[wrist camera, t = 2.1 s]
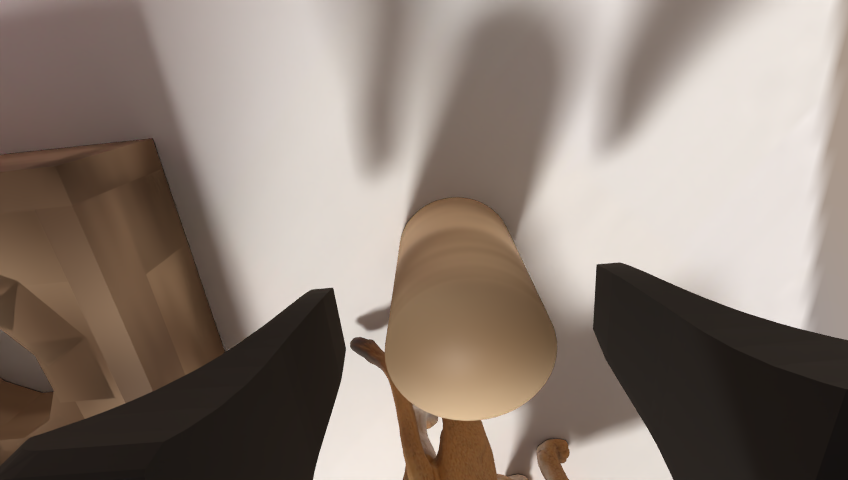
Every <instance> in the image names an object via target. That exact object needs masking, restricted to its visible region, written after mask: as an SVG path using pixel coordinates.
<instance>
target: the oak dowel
mask: <svg viewBox="0 0 848 480" xmlns="http://www.w3.org/2000/svg"><path fill="white" fill-rule="evenodd" d="M556 355H557V339H556V334H555V330H554V327H553V325H552V323H551V320H550V318H549V316H548V314H547V312H546V310H545V308H544V305H543V303H542V301H541V299H540V297H539V295H538V293H537V291H536V289H535V286H534V284H533V282H532V280H531V278H530V276H529V274H528V272H527V270H526V268H525V265H524V263H523V261H522V259H521V257H520V255H519V253H518V251H517V249H516V246H515V244H514V242H513V240H512V238H511V236H510V234H509V232H508V230H507V228H506V226H505V224H504V222H503V220H502V219H501V218H500V217H499V215H498V214H497V213H496V212H495V211H493V210H492V209H491V208H489V207H488V206H487V205H485V204H483V203H481V202H478V201H476V200H473V199H468V198H460V197H453V198H445V199H441V200H437V201H434V202H432V203H430V204H428V205H426V206H425V207H423V208H422V209H420V210H419V211H418V212H416V214H415V215H414V216H413V217H412V218H411V219H410V220H409V222H408V223H407V225H406V227H405V228H404V231H403V233H402V236H401V241H400V246H399V253H398V260H397V267H396V274H395V281H394V288H393V295H392V301H391V308H390V315H389V322H388V329H387V336H386V343H385V362H386V366H387V370H388V373H389V375H390V378H391V380H392V381H393V383H394V385H395V386H396V388H397V389H398V390H399V391H400V393H401V394H402V395H403V396H404V397H405V398H406V399H407V400H408V401H410V402H411V403H412V404H414V405H415V406H417V407H418V408H420V409H422V410H424V411H426V412H428V413H430V414H433V415H435V416H439V417H442V418H447V419H452V420H462V421H475V420H484V419H489V418H493V417H497V416H500V415H503V414H506V413H508V412H510V411H513V410H515V409H517V408H518V407H520V406H522V405H523V404H525V403H526V402H527V401H529V400H530V399H531V398H533V397H534V396H535V395H536V394H537V393H538V392H539V391H540V389H541V388H542V387H543V386H544V384H545V383H546V381H547V380H548V378H549V376H550V375H551V372H552V370H553V367H554V364H555V360H556Z"/></svg>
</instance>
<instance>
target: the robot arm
mask: <svg viewBox="0 0 848 480" xmlns="http://www.w3.org/2000/svg"><path fill="white" fill-rule="evenodd" d="M593 330H594V332H595V335H596V337H597V340H598V342H599V345H600V347H601V349H602V351H603V354H604V356H605V358H606V360H607V362H608V364H609V365H610V367H611V369H612V371H613V372H614V374H615V376H616V377H617V379H618V381H619V382H620V384H621V386H622V387H623V389H624V390H625V392H626V394H627V395H628V397H629V399H630V400H631V402H632V404H633V405H634V407H635V408H636V410H637V412H638V413H639V415H640V417H641V418H642V420H643V422H644V423H645V425H646V426H647V428H648V430H649V432H650V433H651V435H652V437H653V439H654V441H655V442H656V444H657V446H658V448H659V450H660V452H661V454H662V456H663V458H664V461H665V463H666V465H667V467H668V469H669V471H670V473H671V475H672V477H673V480H848V340H844V339H839V338H834V337H830V336H826V335H822V334H818V333H814V332H810V331H806V330H802V329H798V328H794V327H790V326H787V325H783V324H779V323H776V322H773V321H770V320H766V319H763V318H760V317H757V316H753V315H750V314H747V313H744V312H741V311H738V310H735V309H732V308H730V307H727V306H724V305H722V304H719V303H717V302H714V301H711V300H709V299H706V298H704V297H701V296H699V295H696V294H694V293H691V292H689V291H687V290H684V289H682V288H680V287H677V286H675V285H673V284H671V283H668V282H666V281H664V280H662V279H659V278H657V277H655V276H653V275H650V274H648V273H646V272H644V271H641V270H639V269H636V268H634V267H632V266H629V265H626V264H623V263H609V264H598V265H597V268H596V286H595V304H594V323H593ZM345 352H346V347H345V342H344V337H343V333H342V328H341V323H340V318H339V314H338V309H337V304H336V299H335V295H334V290H333V288H325V289H314V290H310V291H309V292H307V293H306V294H304V295H303V296H301V297H300V298H299V299H297V300H296V301H295V302H294V303H292V304H291V305H290V306H288V307H287V308H286V309H285V310H283V311H282V312H281V313H280V314H278V315H277V316H276V317H274V318H273V319H272V320H271V321H269V322H268V323H267V324H265V325H264V326H263V327H261V328H260V329H258V330H257V331H256V332H254V333H253V334H251V335H250V336H249V337H247V338H246V339H244V340H243V341H242V342H240V343H239V344H237V345H236V346H234V347H233V348H231V349H230V350H228V351H227V352H225V353H224V354H222V355H220V356H219V357H217V358H215V359H214V360H212V361H210V362H209V363H207V364H205V365H203V366H202V367H200V368H198V369H196V370H195V371H193V372H191V373H189V374H187V375H185V376H183V377H181V378H179V379H177V380H175V381H173V382H171V383H169V384H167V385H165V386H163V387H161V388H159V389H157V390H155V391H152V392H150V393H148V394H146V395H143V396H141V397H139V398H137V399H134V400H132V401H130V402H127V403H125V404H122V405H120V406H117V407H115V408H112V409H110V410H107V411H105V412H102V413H100V414H97V415H94V416H92V417H89V418H86V419H83V420H80V421H77V422H74V423H71V424H69V425H66V426H63V427H60V428H57V429H54V430H51V431H48V432H45V433H42V434H39V435H36V436H33V437H30V438H29V439H27V440H26V441H25V442H24V443H23V444H22V445H21V446H20V447H19V448H18V449H17V450H16V451H15V452H14V453H13V454H12V455H11V456H10V457H9V458H8V459H7V460H6V461H5V462H4V463H3V464H1V465H0V480H313V477H314V471H315V467H316V463H317V459H318V456H319V452H320V449H321V445H322V442H323V439H324V436H325V432H326V429H327V426H328V422H329V419H330V416H331V413H332V409H333V406H334V403H335V399H336V396H337V393H338V389H339V386H340V382H341V378H342V372H343V366H344V359H345Z"/></svg>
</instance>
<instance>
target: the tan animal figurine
mask: <svg viewBox="0 0 848 480" xmlns="http://www.w3.org/2000/svg"><path fill="white" fill-rule="evenodd" d="M350 347H351V349H352V350H353V351H355V352H356V353H357V354H359V355H361V356H362V357H364V358H365V359H366V360H367V361H368V362H370V363H372V364H374V365H376V366H378V367H379V368H381V369H382V370H383V372H384V373H385V375H386V376H387V378H388V380H389V382H390V385H391V389H392V393H393V397H394V402H395V406H396V411H397V417H398V423H399V428H400V437H401V442H402V448H403V454H404V458H405V462H406V467H405V474H404V477H403V480H528V478H527V477H525V476H524V475H520V474H517V475H511V476H509V477H507V476H504V475H501V474H496V468H495V463H494V458H493V453H492V450H491V447H490V444H489V441H488V439H487V436H486V433H485V430H484V427H483V424H482V422H481V420H475V421H462V420H452V419H447V418H442V420H443V430H442V432H441V436H440V445H439V451H438V454H437V456H436V453H435V451H434V448H433V446H432V444H431V442H430V441H429V438H428V435H427V429H429V428H431V427H432V426H433V425H435V424H436V423H437V421H438V416H435V415H433V414H430V413H428V412H426V411H424V410H422V409H420V408H418V407H417V406H415V405H412V403H411V402H410V401H408V400H407V399H406V398H405V397H404V396H403V395H402V394H401V393H400V391H399V390H398V389H397V388H396V386H395V385H394V383H393V381H392V380H391V378H390V375H389V373H388V370H387V366H386V362H385V353H384V352H383V351H382V350H381V349H380V348H379V346H378V345H377V344H376V343H375V342H374V341H373V340H370V339H369V340H367V339H365V338H362V337H357V338H354V339H353V340H352V341H351V342H350ZM536 454H537V460H538V465H539V467H540V470H541V473H542V475H543V476H544V478H545V479H546V480H569V479H568V478H567V476H566V474H565V472H564V470H563V468H562V466H561V464H560V463H564V462H566V459H567V458H568V456H569V449H568V443H567V442H566V441H565V440H562V439H549V440H546V441H545V442H543V443H542V444H541V445H540V446H538V448H537V452H536Z"/></svg>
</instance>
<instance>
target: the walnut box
mask: <svg viewBox="0 0 848 480" xmlns="http://www.w3.org/2000/svg"><path fill="white" fill-rule="evenodd" d="M0 329H1V330H2V331H4V332H5V333H6V334H7V335H9V336H10V337H11V338H13V339H14V340H15V341H16V342H18V343H19V344H20V345H22V346H23V347H24V348H26V349H27V350H28V351H29V352H31V353H32V354H33V355H35V357H36V359H37V361H38V362H39V364H40V366H41V368H42V370H43V372H44V374H45V375H46V377H47V379H48V381H49V383H50V385H51V386H52V388H53V390H54V392H46V393H41V392H38V391H35V390H31V389H28V388H25V387H22V386H19V385H15V384H12V383H9V382H6V381H4V380H3V379H1V378H0V465H1V464H3V463H4V462H5V461H6V460H7V459H8V458H9V457H10V456H11V455H12V454H13V453H14V452H15V451H16V450H17V449H18V448H19V447H20V446H21V445H22V444H23V443H24V442H25V441H26V440H27V439H29V438H30V437H33V436H36V435H39V434H42V433H45V432H48V431H51V430H54V429H57V428H60V427H63V426H66V425H69V424H71V423H74V422H77V421H80V420H83V419H86V418H89V417H92V416H94V415H97V414H100V413H102V412H105V411H107V410H110V409H112V408H115V407H117V406H120V405H122V404H125V403H127V402H130V401H132V400H134V399H137V398H139V397H141V396H143V395H146V394H148V393H150V392H152V391H155V390H157V389H159V388H161V387H163V386H165V385H167V384H169V383H171V382H173V381H175V380H177V379H179V378H181V377H183V376H185V375H187V374H189V373H191V372H193V371H195V370H196V369H198V368H200V367H202V366H203V365H205V364H207V363H209V362H210V361H212V360H214V359H215V358H217V357H219V356H220V355H222V354H224V353H225V351H224V348H223V345H222V342H221V339H220V336H219V334H218V331H217V328H216V325H215V322H214V319H213V316H212V313H211V310H210V307H209V304H208V301H207V298H206V295H205V292H204V289H203V286H202V283H201V280H200V277H199V275H198V272H197V269H196V266H195V263H194V260H193V257H192V254H191V251H190V248H189V245H188V242H187V239H186V236H185V233H184V230H183V227H182V224H181V221H180V218H179V216H178V213H177V210H176V207H175V204H174V201H173V198H172V195H171V192H170V189H169V186H168V183H167V180H166V177H165V174H164V171H163V168H162V165H161V162H160V159H159V157H158V154H157V151H156V148H155V145H154V142H153V139H152V138H151V139H142V140H133V141H123V142H114V143H105V144H95V145H86V146H77V147H67V148H58V149H49V150H40V151H30V152H21V153H12V154H2V155H0Z"/></svg>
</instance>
